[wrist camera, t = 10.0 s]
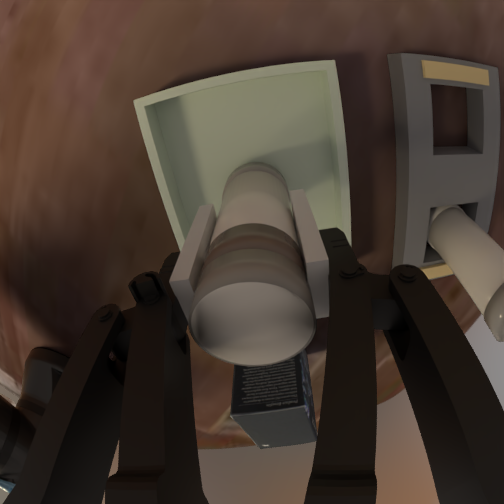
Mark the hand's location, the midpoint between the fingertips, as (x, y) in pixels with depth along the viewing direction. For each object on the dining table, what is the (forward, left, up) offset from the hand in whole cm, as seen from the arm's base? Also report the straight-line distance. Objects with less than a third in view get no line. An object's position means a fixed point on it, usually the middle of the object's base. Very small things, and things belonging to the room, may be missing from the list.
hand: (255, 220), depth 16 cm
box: (-1, -16, -6) cm, 17 cm away
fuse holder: (+15, 0, -5) cm, 16 cm away
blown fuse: (0, 0, -4) cm, 4 cm away
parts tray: (0, 0, -5) cm, 5 cm away
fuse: (+15, -5, -5) cm, 17 cm away
